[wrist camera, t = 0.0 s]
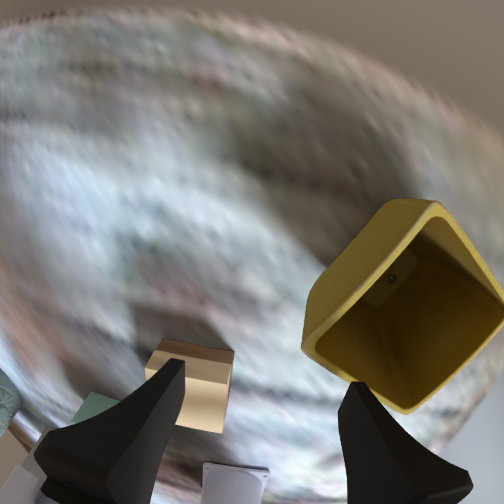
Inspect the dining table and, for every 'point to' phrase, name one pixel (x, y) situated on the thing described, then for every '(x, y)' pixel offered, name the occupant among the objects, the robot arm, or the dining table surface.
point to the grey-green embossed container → (8, 402)
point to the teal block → (93, 407)
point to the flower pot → (403, 305)
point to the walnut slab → (198, 353)
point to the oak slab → (199, 390)
